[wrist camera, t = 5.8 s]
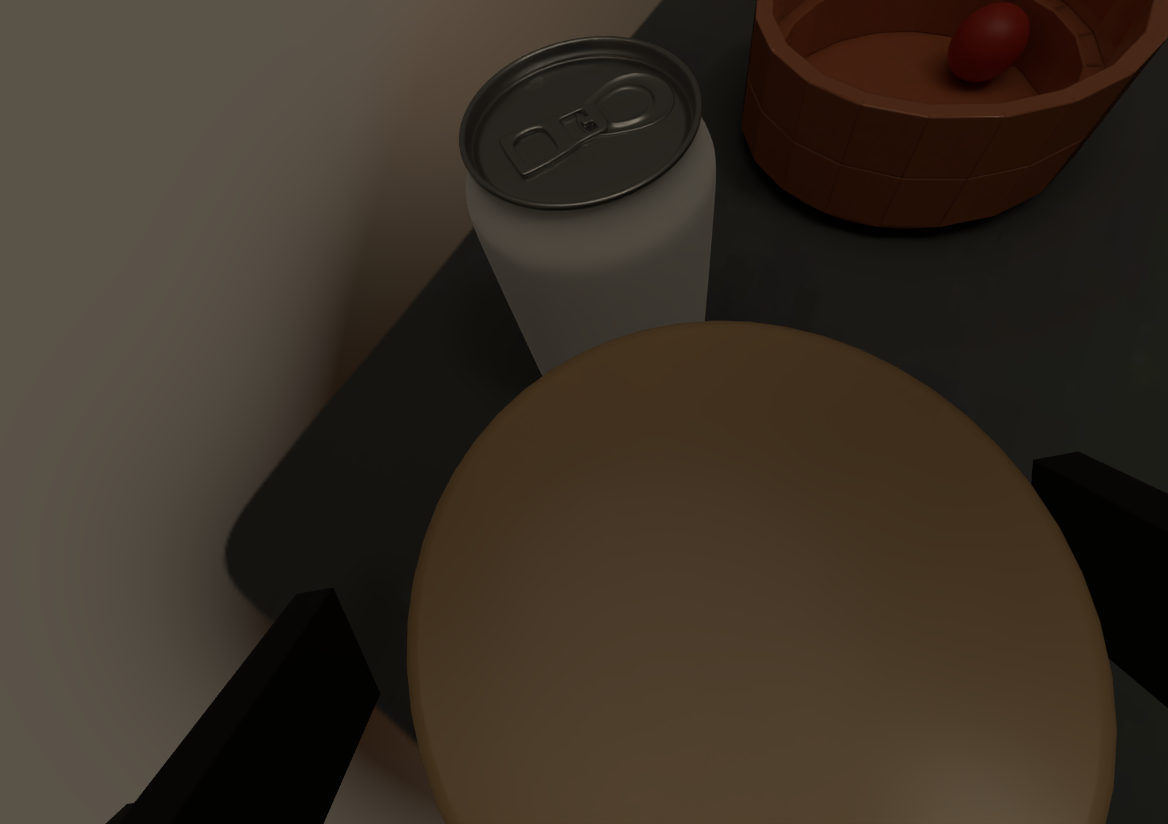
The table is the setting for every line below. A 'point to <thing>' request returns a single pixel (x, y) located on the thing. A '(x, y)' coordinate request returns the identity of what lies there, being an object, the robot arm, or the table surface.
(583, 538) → the stick
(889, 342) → the table surface
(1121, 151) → the table surface
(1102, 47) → the stir bowl
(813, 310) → the table surface
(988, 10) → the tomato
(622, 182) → the can
